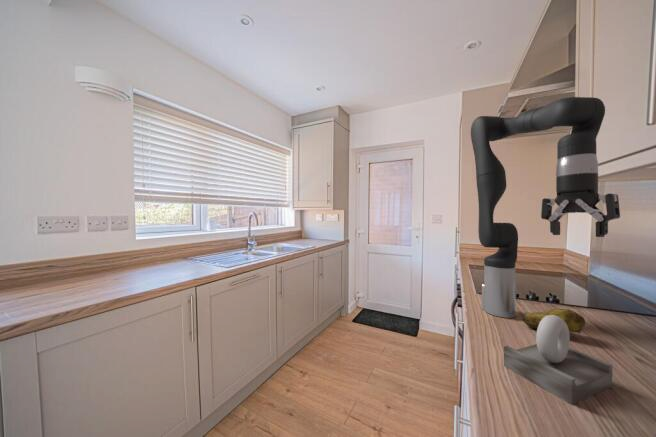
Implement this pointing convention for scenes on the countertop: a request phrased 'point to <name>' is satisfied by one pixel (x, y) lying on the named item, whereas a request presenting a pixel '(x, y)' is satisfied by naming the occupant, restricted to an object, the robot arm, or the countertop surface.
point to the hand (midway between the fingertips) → (576, 235)
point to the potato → (569, 316)
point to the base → (561, 372)
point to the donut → (553, 338)
